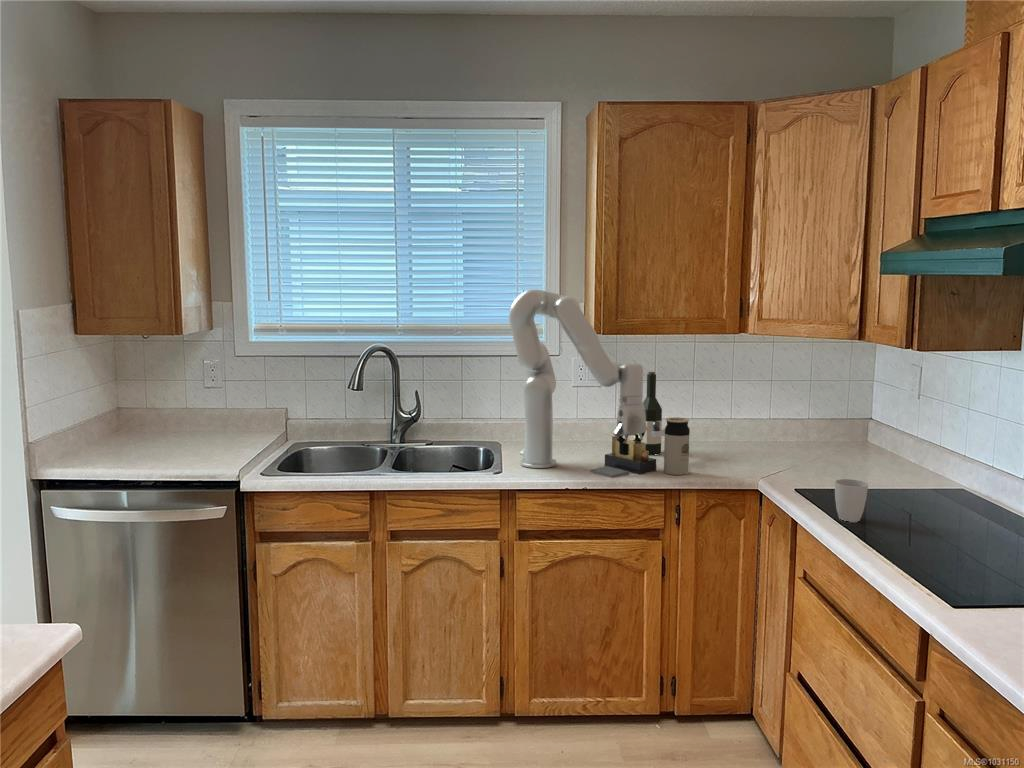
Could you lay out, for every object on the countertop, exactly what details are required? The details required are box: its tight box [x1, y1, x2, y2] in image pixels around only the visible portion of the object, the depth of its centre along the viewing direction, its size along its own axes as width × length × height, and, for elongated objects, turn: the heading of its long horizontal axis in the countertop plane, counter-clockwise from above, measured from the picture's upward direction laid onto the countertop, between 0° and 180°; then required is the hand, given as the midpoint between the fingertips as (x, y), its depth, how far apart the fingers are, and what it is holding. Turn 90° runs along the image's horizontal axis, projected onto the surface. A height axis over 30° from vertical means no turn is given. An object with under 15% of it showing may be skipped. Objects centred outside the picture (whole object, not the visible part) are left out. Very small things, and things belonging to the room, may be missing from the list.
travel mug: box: [663, 416, 691, 476], centre depth 264 cm, size 8×8×18 cm
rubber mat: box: [589, 465, 630, 478], centre depth 265 cm, size 10×8×1 cm
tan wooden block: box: [615, 438, 645, 460], centre depth 270 cm, size 8×6×5 cm
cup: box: [834, 478, 869, 523], centre depth 212 cm, size 8×8×10 cm
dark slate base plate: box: [604, 435, 657, 475], centre depth 271 cm, size 16×8×10 cm, turn 39°
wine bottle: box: [641, 371, 663, 456], centre depth 294 cm, size 8×8×30 cm
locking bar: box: [651, 422, 665, 437], centre depth 282 cm, size 2×16×5 cm, turn 129°
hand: (630, 452), depth 271 cm, fingers closed on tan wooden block, 6 cm apart
